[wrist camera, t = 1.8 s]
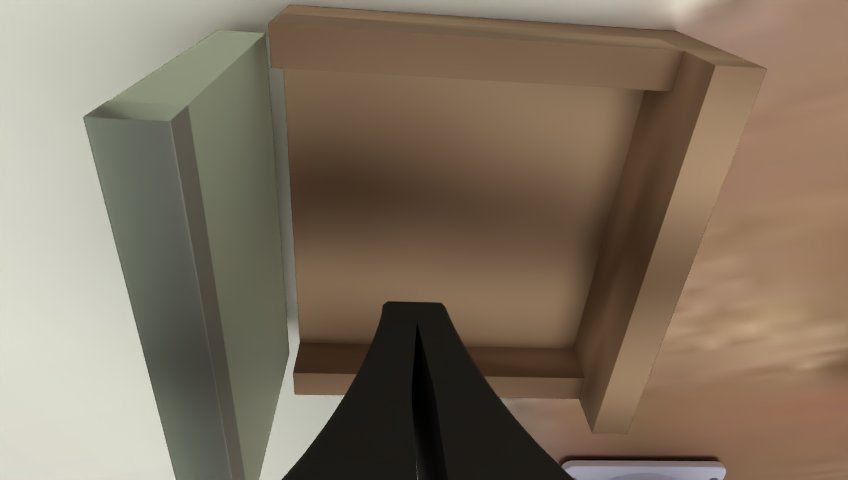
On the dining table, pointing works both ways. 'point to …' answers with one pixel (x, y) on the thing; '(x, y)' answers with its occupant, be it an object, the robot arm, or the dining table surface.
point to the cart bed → (502, 190)
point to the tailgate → (201, 247)
